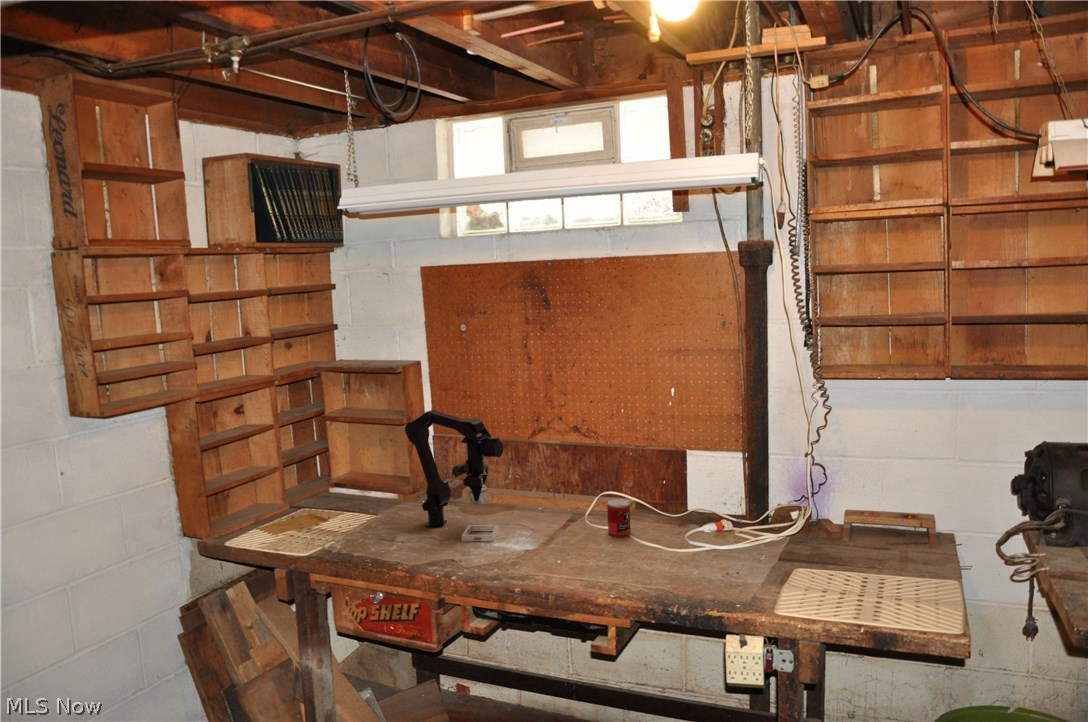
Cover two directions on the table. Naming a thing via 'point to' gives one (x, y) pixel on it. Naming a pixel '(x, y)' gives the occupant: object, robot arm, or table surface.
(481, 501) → the piston
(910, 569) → the table surface
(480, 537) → the grey square frame
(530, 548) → the table surface
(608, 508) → the canned food
